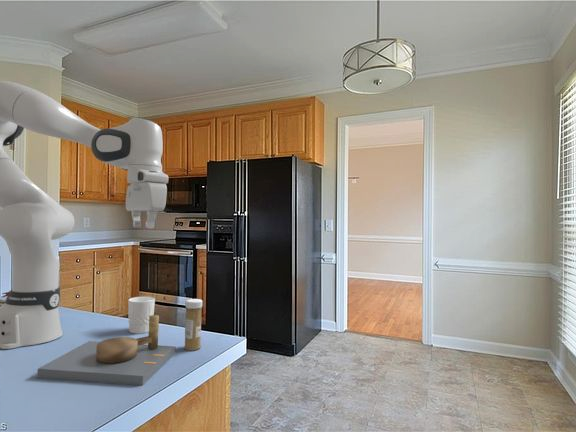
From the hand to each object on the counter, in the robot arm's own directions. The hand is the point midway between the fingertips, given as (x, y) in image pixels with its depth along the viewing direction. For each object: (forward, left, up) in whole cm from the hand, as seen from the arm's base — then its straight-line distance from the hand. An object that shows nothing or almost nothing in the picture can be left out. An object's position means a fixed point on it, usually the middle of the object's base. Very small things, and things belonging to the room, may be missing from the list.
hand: (143, 227), depth 97 cm
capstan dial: (+2, -9, -31) cm, 32 cm away
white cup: (-7, +15, -34) cm, 37 cm away
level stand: (-1, -11, -33) cm, 35 cm away
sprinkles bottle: (+14, +3, -34) cm, 37 cm away
